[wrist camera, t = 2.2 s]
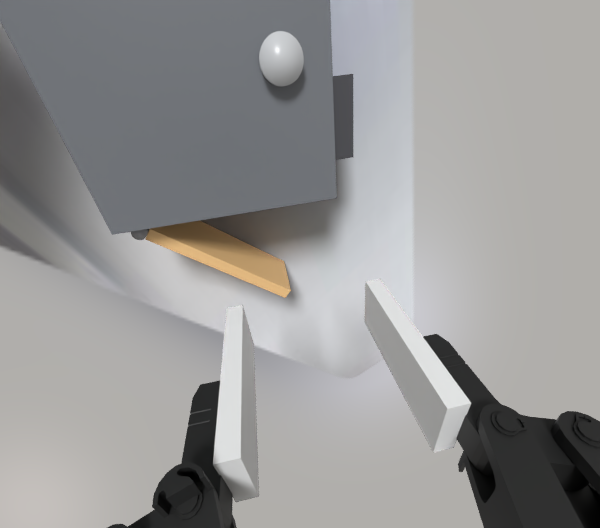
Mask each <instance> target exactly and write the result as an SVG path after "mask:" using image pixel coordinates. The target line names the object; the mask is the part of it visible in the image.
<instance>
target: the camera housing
mask: <svg viewBox="0 0 600 528" xmlns="http://www.w3.org/2000/svg"><path fill="white" fill-rule="evenodd" d="M0 21H1V23H2V25H3V27H4V29H5V31H6V33H7V35H8V37H9V39H10V41H11V42H12V44H13V46H14V48H15V50H16V52H17V54H18V56H19V58H20V60H21V62H22V63H23V65H24V67H25V69H26V71H27V73H28V75H29V77H30V79H31V81H32V83H33V84H34V86H35V88H36V90H37V92H38V94H39V96H40V98H41V100H42V102H43V103H44V105H45V107H46V109H47V111H48V113H49V115H50V117H51V119H52V121H53V123H54V124H55V126H56V128H57V130H58V132H59V134H60V136H61V138H62V140H63V142H64V144H65V145H66V147H67V149H68V151H69V153H70V155H71V157H72V159H73V161H74V163H75V164H76V166H77V168H78V170H79V172H80V174H81V176H82V178H83V180H84V182H85V184H86V185H87V187H88V189H89V191H90V193H91V195H92V197H93V199H94V201H95V203H96V205H97V206H98V208H99V210H100V212H101V214H102V216H103V218H104V220H105V222H106V224H107V226H108V227H109V229H110V231H111V233H112V235H113V234H119V233H125V232H131V231H137V230H144V229H150V228H156V227H162V226H168V225H174V224H181V223H187V222H193V221H199V220H205V219H211V218H217V217H224V216H230V215H236V214H242V213H248V212H254V211H261V210H267V209H273V208H279V207H285V206H291V205H298V204H304V203H310V202H316V201H322V200H328V199H334V198H337V187H336V160H337V159H344V158H350V157H353V74H349V75H341V76H333V74H332V46H331V18H330V0H0Z"/></svg>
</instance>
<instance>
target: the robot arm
mask: <svg viewBox="0 0 600 528" xmlns="http://www.w3.org/2000/svg"><path fill="white" fill-rule="evenodd" d="M365 324H366V325H367V327H368V329H369V331H370V333H371V335H372V337H373V339H374V341H375V343H376V344H377V346H378V348H379V350H380V352H381V354H382V356H383V358H384V360H385V362H386V364H387V365H388V367H389V369H390V371H391V373H392V375H393V377H394V379H395V381H396V383H397V385H398V386H399V388H400V390H401V392H402V394H403V396H404V398H405V400H406V402H407V404H408V406H409V407H410V409H411V411H412V413H413V415H414V417H415V419H416V421H417V423H418V425H419V426H420V428H421V430H422V432H423V434H424V436H425V438H426V440H427V442H428V444H429V445H430V447H431V449H432V451H433V453H434V452H438V451H442V450H446V449H450V448H454V445H455V443H456V440H458V442H459V443H460V445H461V447H462V448H463V450H464V451H463V453H462V456H461V458H460V461H459V463H458V466H459V472H463V470H464V468H465V467H466V471H467V474H468V477H469V480H470V484H471V487H472V490H473V493H474V497H475V500H476V503H477V506H478V510H479V513H480V516H481V519H482V522H483V526H484V528H600V421H598V420H596V419H594V418H592V417H590V416H588V415H586V414H582V413H579V412H573V411H572V412H571V411H567V412H565V413H562V414H561V415H560V416H559V417H558V419H557V420H555V419H546V418H536V417H528V416H523V415H520V414H518V413H517V412H516V411H514V410H513V409H511V408H509V407H507V406H504V405H501V404H500V403H499V402H498V401H497V400H496V399H495V398H494V397H493V395H492V394H491V393H490V392H489V391H488V390H487V388H486V387H485V386H484V385H483V383H482V382H481V381H480V380H479V378H478V377H477V376H476V375H475V374H474V372H473V371H472V370H471V369H470V367H469V366H468V365H467V364H465V361H464V360H463V359H462V358H461V356H459V355H458V353H457V352H456V351H455V349H454V348H453V347H452V346H451V344H450V343H449V342H448V341H446V340H445V339H443V338H442V337H440V336H439V335H437V334H434V335H429V336H424V337H422V335H421V334H420V332H419V331H418V330H417V328H416V327H415V325H414V324H413V323H412V321H411V320H410V319H409V317H408V316H407V315H406V313H405V312H404V310H403V309H402V308H401V306H400V305H399V304H398V302H397V301H396V299H395V298H394V297H393V295H392V294H391V293H390V291H389V290H388V289H387V287H386V286H385V284H384V283H383V282H382V280H381V279H376V280H371V281H366V284H365ZM223 344H224V345H223V355H222V366H221V377H220V381H216V382H212V383H207V384H202V385H200V386H199V388H198V390H197V392H196V393H195V395H194V397H193V400H192V406H191V412H190V413H191V415H190V418H189V423H188V429H187V435H186V440H185V446H184V452H183V458H182V464H180V465H177V466H175V467H174V468H173V469H171V470H170V471H169V472H167V474H166V475H165V476H164V478H163V479H162V480H161V481H160V482H159V484H158V487H157V489H156V491H155V493H154V498H153V505H152V507H153V508H154V509H155V510H153V511H152V512H150V513H149V514H147V515H146V516H144V517H142V518H141V519H139V520H138V521H136V522H135V523H133V524H131V525H130V526H128V527H127V526H125V525H123V524H115V525H112V526H110V527H108V528H236V524H235V520H234V518H233V515H232V497H233V498H234V500H235V502H239V501H242V500H247V499H251V498H254V497H258V496H259V482H258V452H257V423H256V394H255V364H254V343H253V339H252V336H251V332H250V329H249V325H248V322H247V318H246V315H245V311H244V308H243V305H240V306H234V307H229V308H227V309H226V321H225V332H224V343H223Z"/></svg>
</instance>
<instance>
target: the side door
mask: <svg viewBox="0 0 600 528" xmlns="http://www.w3.org/2000/svg"><path fill="white" fill-rule="evenodd" d="M131 234H132V236H133V237H134V238H135V239H137V240H143V239H144V238H145V237H146V240H148V241H151V242H153V243H156V244H158V245H160V246H163V247H165V248H168V249H170V250H172V251H175V252H177V253H179V254H182V255H184V256H187V257H189V258H191V259H194V260H196V261H199V262H201V263H203V264H206V265H208V266H210V267H213V268H215V269H218V270H220V271H222V272H225V273H227V274H230V275H232V276H234V277H237V278H239V279H241V280H244V281H246V282H249V283H251V284H253V285H256V286H258V287H261V288H263V289H265V290H268V291H270V292H272V293H275V294H277V295H280V296H282V297H284V298H286V296H287V295H288V294H289V292H290V291H291V289H290V285H289V280H288V276H287V272H286V267H285V263H284V261H282V260H280V259H278V258H276V257H274V256H272V255H270V254H268V253H266V252H264V251H262V250H259V249H257V248H255V247H253V246H251V245H249V244H247V243H245V242H243V241H241V240H239V239H237V238H235V237H233V236H230V235H228V234H226V233H224V232H222V231H220V230H218V229H216V228H214V227H212V226H210V225H208V224H206V223H204V222H201V221H193V222H187V223H181V224H174V225H168V226H162V227H156V228H150V229H144V230H137V231H131Z"/></svg>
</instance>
